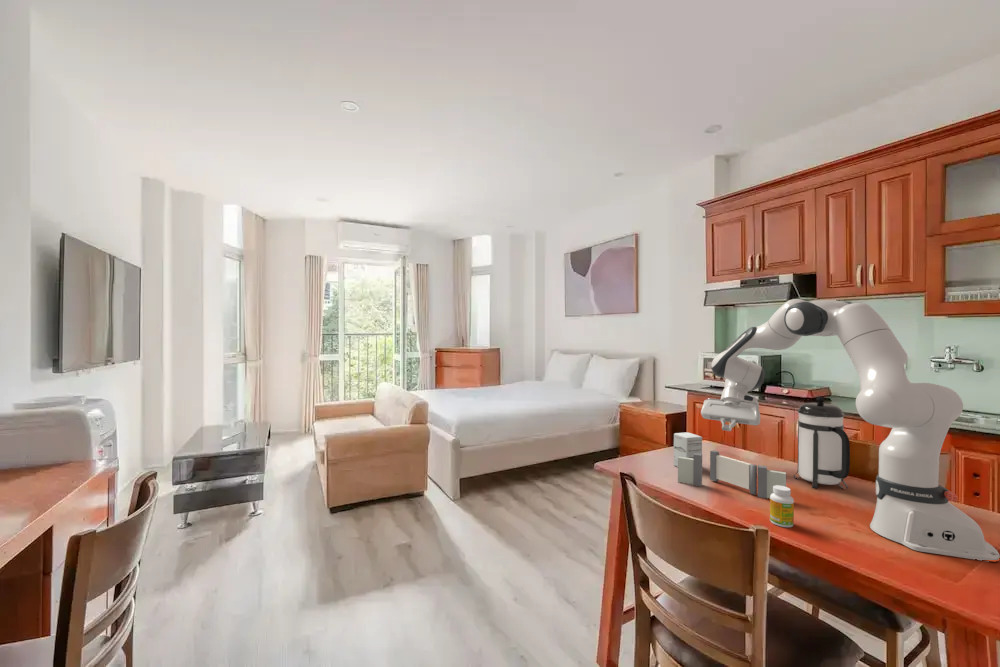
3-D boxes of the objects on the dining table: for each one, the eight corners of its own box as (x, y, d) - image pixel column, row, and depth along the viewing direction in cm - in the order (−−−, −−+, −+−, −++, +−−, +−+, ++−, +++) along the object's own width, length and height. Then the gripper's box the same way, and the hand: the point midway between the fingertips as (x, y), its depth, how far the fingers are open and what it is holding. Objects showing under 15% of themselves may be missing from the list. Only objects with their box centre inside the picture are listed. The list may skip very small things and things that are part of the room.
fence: (785, 499, 131) (785, 465, 131) (785, 502, 129) (786, 467, 129) (678, 480, 148) (678, 450, 148) (677, 482, 146) (677, 452, 146)
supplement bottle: (782, 529, 112) (783, 492, 112) (765, 520, 117) (765, 485, 117) (798, 526, 113) (798, 490, 113) (780, 518, 119) (780, 483, 118)
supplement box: (672, 465, 164) (672, 433, 164) (688, 463, 167) (688, 431, 167) (686, 471, 157) (686, 437, 157) (702, 469, 160) (702, 436, 159)
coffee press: (785, 482, 146) (786, 395, 146) (802, 473, 156) (802, 391, 155) (848, 498, 132) (849, 402, 132) (862, 487, 142) (863, 398, 142)
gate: (758, 493, 135) (758, 462, 135) (754, 494, 134) (754, 463, 134) (713, 478, 148) (713, 450, 148) (710, 479, 147) (710, 451, 147)
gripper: (703, 393, 173) (695, 420, 166) (761, 398, 159) (755, 429, 152) (706, 402, 176) (699, 430, 169) (763, 408, 162) (758, 439, 155)
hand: (726, 429), depth 160 cm, fingers closed
